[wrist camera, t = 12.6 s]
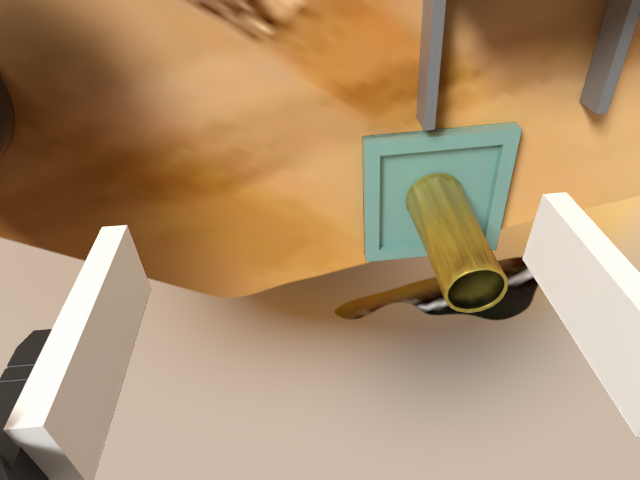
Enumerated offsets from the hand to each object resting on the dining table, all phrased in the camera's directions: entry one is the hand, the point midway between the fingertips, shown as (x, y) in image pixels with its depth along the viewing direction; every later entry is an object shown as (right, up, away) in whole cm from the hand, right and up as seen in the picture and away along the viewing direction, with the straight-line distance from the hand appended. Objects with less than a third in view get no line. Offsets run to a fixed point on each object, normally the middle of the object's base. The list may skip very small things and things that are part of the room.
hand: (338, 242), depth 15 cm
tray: (+12, +5, +34) cm, 37 cm away
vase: (+11, +5, +34) cm, 36 cm away
